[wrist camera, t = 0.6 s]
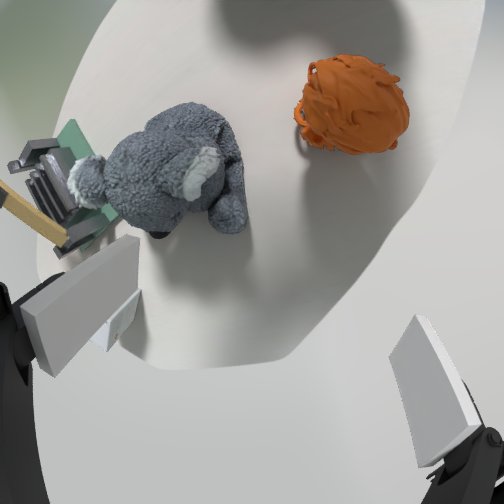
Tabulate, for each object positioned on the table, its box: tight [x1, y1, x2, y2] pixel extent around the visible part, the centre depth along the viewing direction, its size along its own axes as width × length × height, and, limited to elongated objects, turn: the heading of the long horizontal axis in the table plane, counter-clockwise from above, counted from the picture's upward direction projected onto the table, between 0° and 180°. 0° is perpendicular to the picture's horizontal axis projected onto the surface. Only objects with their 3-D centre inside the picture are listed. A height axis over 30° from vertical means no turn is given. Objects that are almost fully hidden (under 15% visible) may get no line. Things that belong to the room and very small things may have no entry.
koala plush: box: [67, 102, 248, 239], centre depth 29 cm, size 17×18×20 cm
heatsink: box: [7, 138, 113, 260], centre depth 37 cm, size 20×8×10 cm, turn 34°
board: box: [57, 119, 119, 252], centre depth 41 cm, size 20×14×1 cm
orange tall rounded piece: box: [293, 55, 410, 155], centre depth 24 cm, size 11×11×18 cm
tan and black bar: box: [0, 180, 73, 252], centre depth 29 cm, size 20×3×2 cm
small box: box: [89, 288, 141, 352], centre depth 43 cm, size 8×6×10 cm
